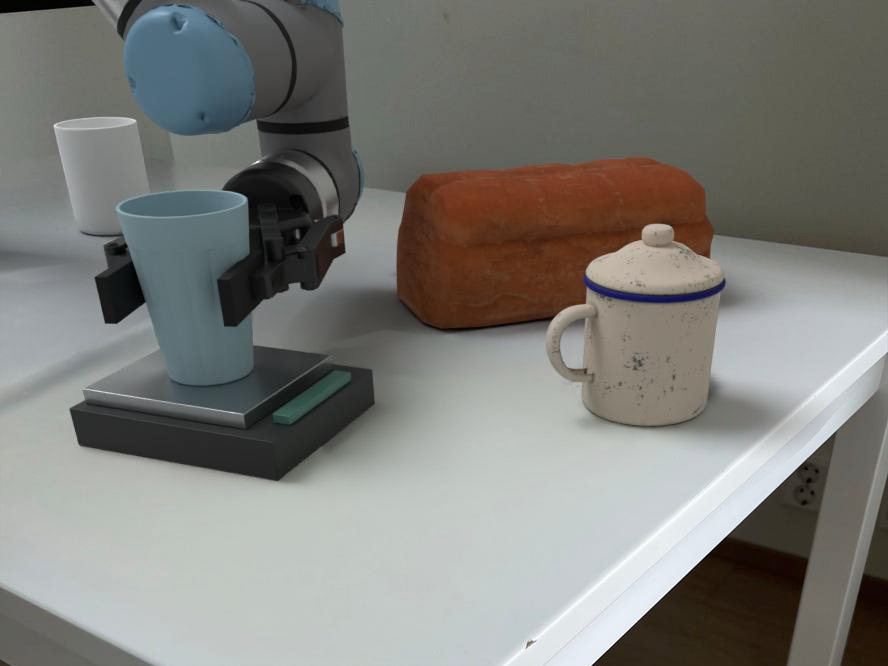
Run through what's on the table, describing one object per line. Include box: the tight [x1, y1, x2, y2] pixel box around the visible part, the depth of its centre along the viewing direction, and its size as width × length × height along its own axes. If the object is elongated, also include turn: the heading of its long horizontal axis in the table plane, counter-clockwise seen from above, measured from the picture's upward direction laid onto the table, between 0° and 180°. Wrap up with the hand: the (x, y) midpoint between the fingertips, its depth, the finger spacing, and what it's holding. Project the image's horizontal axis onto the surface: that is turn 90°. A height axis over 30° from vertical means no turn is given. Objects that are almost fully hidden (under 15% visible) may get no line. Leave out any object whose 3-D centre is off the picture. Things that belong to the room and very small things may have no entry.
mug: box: [53, 116, 151, 236], centre depth 112 cm, size 9×12×11 cm
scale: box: [68, 344, 376, 481], centre depth 66 cm, size 15×13×4 cm
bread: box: [395, 156, 716, 329], centre depth 87 cm, size 16×27×11 cm, turn 110°
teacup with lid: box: [545, 224, 727, 427], centre depth 66 cm, size 12×9×12 cm
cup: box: [116, 189, 254, 386], centre depth 63 cm, size 8×8×10 cm
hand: (166, 301), depth 58 cm, fingers closed on cup, 7 cm apart
